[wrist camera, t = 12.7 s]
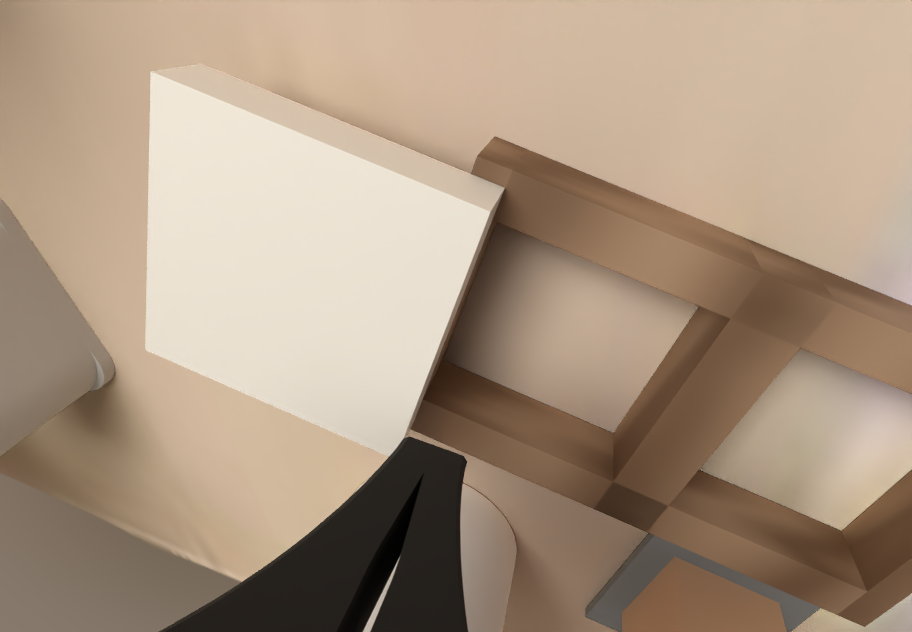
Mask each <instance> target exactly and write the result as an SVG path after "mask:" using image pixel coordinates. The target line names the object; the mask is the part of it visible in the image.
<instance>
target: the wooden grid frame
mask: <svg viewBox="0 0 912 632" xmlns="http://www.w3.org/2000/svg"><path fill="white" fill-rule="evenodd" d="M471 174H472V175H475V176H477V177H480V178H482V179H484V180H487V181H489V182H492V183H494V184H497V185H499V186H501V187H504V188H505V189H504V191H503V194H502V197H501V199H500V202H499V204H498V207H497V209H496V212H495V215H494V217H493V220H492V222H491V225H490V227H489V230H488V233H487V235H486V238H485V240H484V243H483V245H482V248H481V251H480V253H479V256H478V258H477V261H476V263H475V266H474V269H473V271H472V274H471V276H470V279H469V281H468V284H467V287H466V289H465V292H464V294H463V297H462V299H461V302H460V305H459V307H458V310H457V312H456V315H455V317H454V320H453V323H452V325H451V328H450V330H449V333H448V335H447V338H446V340H445V343H444V346H443V348H442V351H441V353H440V356H439V358H438V361H437V364H436V366H435V369H434V371H433V374H432V376H431V379H430V382H429V384H428V387H427V389H426V392H425V394H424V397H423V400H422V402H421V405H420V407H419V410H418V412H417V415H416V418H415V420H414V422H413V424H412V426H411V429H412V430H414V431H416V432H418V433H421V434H423V435H425V436H428V437H430V438H432V439H434V440H437V441H439V442H441V443H444V444H446V445H448V446H451V447H453V448H455V449H457V450H460V451H462V452H464V453H467V454H469V455H471V456H474V457H476V458H478V459H480V460H483V461H485V462H487V463H490V464H492V465H494V466H496V467H499V468H501V469H503V470H506V471H508V472H510V473H513V474H515V475H517V476H519V477H522V478H524V479H526V480H529V481H531V482H533V483H536V484H538V485H540V486H542V487H545V488H547V489H549V490H552V491H554V492H556V493H558V494H561V495H563V496H565V497H568V498H570V499H572V500H575V501H577V502H579V503H581V504H584V505H586V506H588V507H591V508H593V509H595V510H598V511H600V512H602V513H604V514H607V515H609V516H611V517H614V518H616V519H618V520H620V521H623V522H625V523H627V524H630V525H632V526H634V527H637V528H639V529H641V530H643V531H646V532H648V533H650V534H653V535H655V536H657V537H660V538H662V539H664V540H666V541H669V542H671V543H673V544H676V545H678V546H680V547H682V548H685V549H687V550H689V551H692V552H694V553H696V554H699V555H701V556H703V557H705V558H708V559H710V560H712V561H715V562H717V563H719V564H722V565H724V566H726V567H728V568H731V569H733V570H735V571H738V572H740V573H742V574H744V575H747V576H749V577H751V578H754V579H756V580H758V581H761V582H763V583H765V584H767V585H770V586H772V587H774V588H777V589H779V590H781V591H784V592H786V593H788V594H790V595H793V596H795V597H797V598H800V599H802V600H804V601H806V602H809V603H811V604H813V605H816V606H818V607H820V608H823V609H825V610H827V611H829V612H832V613H834V614H836V615H839V616H841V617H843V618H846V619H848V620H850V621H852V622H855V623H857V624H859V625H862V626H864V627H865V626H866V625H868V624H869V623H871V622H872V621H873V620H875V619H876V618H878V617H879V616H880V615H882V614H883V613H885V612H886V611H887V610H889V609H890V608H892V607H893V606H894V605H896V604H897V603H899V602H900V601H901V600H903V599H904V598H906V597H907V596H908V595H910V594H911V593H912V471H910V472H909V473H908V474H907V475H906V476H905V477H904V478H902V479H901V480H900V481H899V482H898V483H897V484H896V485H894V486H893V487H892V488H891V489H890V490H889V491H888V492H886V493H885V494H884V495H883V496H882V497H881V498H879V499H878V500H877V501H876V502H875V503H874V504H873V505H871V506H870V507H869V508H868V509H867V510H866V511H865V512H863V513H862V514H861V515H860V516H859V517H858V518H857V519H855V520H854V521H853V522H852V523H851V524H850V525H849V526H847V527H846V528H845V529H844V530H843V531H840V530H838V529H835V528H833V527H831V526H828V525H826V524H824V523H821V522H819V521H817V520H814V519H812V518H810V517H807V516H805V515H803V514H800V513H798V512H796V511H793V510H791V509H789V508H786V507H784V506H782V505H779V504H777V503H775V502H772V501H770V500H768V499H765V498H763V497H761V496H758V495H756V494H754V493H751V492H749V491H746V490H744V489H742V488H739V487H737V486H735V485H732V484H730V483H728V482H725V481H723V480H721V479H718V478H716V477H714V476H711V475H709V474H707V473H704V472H702V471H700V470H699V469H700V468H701V466H702V465H703V464H704V463H705V462H706V460H707V459H708V458H709V457H710V456H711V454H712V453H713V452H714V451H715V450H716V448H717V447H718V446H719V445H720V444H721V442H722V441H723V440H724V439H725V438H726V436H727V435H728V434H729V433H730V432H731V430H732V429H733V428H734V427H735V426H736V424H737V423H738V422H739V421H740V420H741V418H742V417H743V416H744V415H745V414H746V412H747V411H748V410H749V409H750V408H751V406H752V405H753V404H754V403H755V402H756V400H757V399H758V398H759V397H760V396H761V394H762V393H763V392H764V391H765V390H766V388H767V387H768V386H769V385H770V384H771V382H772V381H773V380H774V379H775V378H776V376H777V375H778V374H779V373H780V372H781V370H782V369H783V368H784V367H785V366H786V364H787V363H788V362H789V361H790V360H791V358H792V357H793V356H794V355H795V354H796V352H797V351H798V350H799V349H800V348H802V349H805V350H807V351H810V352H812V353H814V354H817V355H819V356H822V357H824V358H826V359H829V360H831V361H834V362H836V363H839V364H841V365H843V366H846V367H848V368H851V369H853V370H855V371H858V372H860V373H863V374H865V375H867V376H870V377H872V378H875V379H877V380H880V381H882V382H884V383H887V384H889V385H892V386H894V387H896V388H899V389H901V390H904V391H906V392H909V393H911V394H912V306H911V305H908V304H906V303H903V302H901V301H898V300H896V299H893V298H891V297H889V296H886V295H884V294H881V293H879V292H876V291H874V290H871V289H869V288H866V287H864V286H862V285H859V284H857V283H854V282H852V281H849V280H847V279H844V278H842V277H839V276H837V275H834V274H832V273H830V272H827V271H825V270H822V269H820V268H817V267H815V266H812V265H810V264H807V263H805V262H802V261H800V260H798V259H795V258H793V257H790V256H788V255H785V254H783V253H780V252H778V251H775V250H773V249H771V248H768V247H766V246H763V245H761V244H758V243H756V242H753V241H751V240H748V239H746V238H743V237H741V236H739V235H736V234H734V233H731V232H729V231H726V230H724V229H721V228H719V227H716V226H714V225H711V224H709V223H707V222H704V221H702V220H699V219H697V218H694V217H692V216H689V215H687V214H684V213H682V212H679V211H677V210H675V209H672V208H670V207H667V206H665V205H662V204H660V203H657V202H655V201H652V200H650V199H648V198H645V197H643V196H640V195H638V194H635V193H633V192H630V191H628V190H625V189H623V188H620V187H618V186H616V185H613V184H611V183H608V182H606V181H603V180H601V179H598V178H596V177H593V176H591V175H588V174H586V173H584V172H581V171H579V170H576V169H574V168H571V167H569V166H566V165H564V164H561V163H559V162H557V161H554V160H552V159H549V158H547V157H544V156H542V155H539V154H537V153H534V152H532V151H529V150H527V149H525V148H522V147H520V146H517V145H515V144H512V143H510V142H507V141H505V140H502V139H500V138H497V137H494V138H493V139H492V140H491V141H490V142H489V143H488V145H487V146H486V147H485V148H484V149H483V150H482V151H481V152H480V154H479V155H478V156H477V158H476V161H475V164H474V167H473V170H472V173H471ZM497 222H498V223H500V224H503V225H505V226H508V227H510V228H512V229H515V230H517V231H520V232H522V233H524V234H527V235H529V236H532V237H534V238H537V239H539V240H541V241H544V242H546V243H549V244H551V245H553V246H556V247H558V248H561V249H563V250H566V251H568V252H570V253H573V254H575V255H578V256H580V257H582V258H585V259H587V260H590V261H592V262H595V263H597V264H599V265H602V266H604V267H607V268H609V269H611V270H614V271H616V272H619V273H621V274H624V275H626V276H628V277H631V278H633V279H636V280H638V281H640V282H643V283H645V284H648V285H650V286H653V287H655V288H657V289H660V290H662V291H665V292H667V293H669V294H672V295H674V296H677V297H679V298H682V299H684V300H686V301H689V302H691V303H694V304H696V305H698V306H699V308H698V309H697V311H696V312H695V314H694V315H693V316H692V318H691V319H690V321H689V322H688V324H687V325H686V327H685V328H684V330H683V331H682V333H681V334H680V336H679V337H678V339H677V340H676V342H675V343H674V345H673V346H672V348H671V349H670V351H669V352H668V354H667V355H666V357H665V358H664V360H663V361H662V363H661V364H660V365H659V367H658V368H657V370H656V371H655V373H654V374H653V376H652V377H651V379H650V380H649V382H648V383H647V385H646V386H645V388H644V389H643V391H642V392H641V394H640V395H639V397H638V398H637V400H636V401H635V403H634V404H633V406H632V407H631V409H630V410H629V412H628V413H627V415H626V416H625V417H624V419H623V420H622V422H621V423H620V425H619V426H618V428H617V429H616V431H615V432H614V434H613V433H611V432H609V431H606V430H604V429H602V428H599V427H597V426H595V425H592V424H590V423H588V422H585V421H583V420H581V419H578V418H576V417H574V416H571V415H569V414H567V413H564V412H562V411H560V410H557V409H555V408H553V407H550V406H548V405H546V404H543V403H541V402H539V401H536V400H534V399H532V398H529V397H527V396H525V395H522V394H520V393H518V392H515V391H513V390H511V389H508V388H506V387H504V386H501V385H499V384H497V383H494V382H492V381H490V380H487V379H485V378H483V377H480V376H478V375H476V374H473V373H471V372H469V371H466V370H464V369H462V368H459V367H457V366H455V365H452V364H450V363H448V362H445V361H443V360H442V359H443V357H444V354H445V352H446V349H447V347H448V344H449V342H450V339H451V337H452V334H453V332H454V329H455V326H456V324H457V321H458V319H459V316H460V314H461V311H462V309H463V306H464V304H465V301H466V299H467V296H468V294H469V291H470V288H471V286H472V283H473V281H474V278H475V276H476V273H477V271H478V268H479V266H480V263H481V261H482V258H483V255H484V253H485V250H486V248H487V245H488V243H489V240H490V238H491V235H492V233H493V230H494V228H495V225H496V223H497Z"/></svg>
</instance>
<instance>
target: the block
mask: <svg viewBox="0 0 912 632" xmlns="http://www.w3.org/2000/svg"><path fill="white" fill-rule="evenodd" d="M622 632H787V631H786V627H785V623H784V619H783V616H782V612H781V608H780V604H779V603H778V602H776V601H774V600H771V599H769V598H767V597H765V596H762V595H760V594H758V593H756V592H753V591H751V590H749V589H747V588H744V587H742V586H740V585H738V584H735V583H733V582H731V581H729V580H726V579H724V578H722V577H720V576H717V575H715V574H713V573H711V572H709V571H706V570H704V569H702V568H700V567H697V566H695V565H693V564H691V563H688V562H686V561H684V560H682V559H679V558H677V557H674V558H673V559H672V560H671V561H670V562H669V563H668V564H667V565H666V566H665V567H664V568H663V569H662V570H661V572H660V573H659V574H658V575H657V576H656V577H655V578H654V579H653V580H652V581H651V582H650V583H649V584H648V585H647V586H646V588H645V589H644V590H643V591H642V592H641V593H640V594H639V595H638V596H637V597H636V598H635V599H634V600H633V601H632V602H631V603H630V605H629V606H628V607H627V608H626V609H625V610H624V611H623V612H622Z"/></svg>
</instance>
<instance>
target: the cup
mask: <svg viewBox="0 0 912 632" xmlns="http://www.w3.org/2000/svg"><path fill="white" fill-rule="evenodd" d="M366 481H367V480H366ZM366 481H365V482H366ZM365 482H363V483H362V484H361V485H360V486H359V487H358V488H357V490H358V489H359V488H360V487H361V486H362V485H363V484H364V483H365ZM357 490H356V491H357ZM356 491H355V492H356ZM355 492H354V493H355ZM460 537H461V566H462V580H463V592H464V602H465V611H466V619H467V626H468V632H503V627H504V622H505V616H506V611H507V605H508V600H509V594H510V589H511V584H512V578H513V573H514V567H515V562H516V556H517V547H516V540H515V536H514V534H513V531H512V529H511V527H510V525H509V523H508V522H507V520H506V519H505V517H504V516H503V514H502V513H501V512H500V511H499V510H498V509H497V508H496V506H495V505H494V504H492V503H491V502H490V501H489V500H488V499H487V498H486V497H484V496H483V495H482V494H480V493H479V492H477V491H476V490H474V489H473V488H471V487H469V486H467V485H466V484H464V483H463V485H462V495H461V513H460ZM399 558H400V557H399ZM398 561H399V559H398ZM398 561H397V563H396V565H395V567H394V569H393V571H392V573H391V575H390V578H389V580H388V582H387V584H386V586H385V588H384V590H383V592H382V594H381V596H380V598H379V600H378V602H377V604H376V606H375V608H374V610H373V612H372V614H371V616H370V618H369V620H368V622H367V624H366V626H365V628H364V630H363V632H370V631H371V629H372V626H373V624H374V622H375V619H376V617H377V614H378V612H379V610H380V607H381V605H382V602H383V600H384V597H385V595H386V593H387V590H388V588H389V585H390V583H391V581H392V578H393V576H394V573H395V570H396V567H397V564H398Z"/></svg>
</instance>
